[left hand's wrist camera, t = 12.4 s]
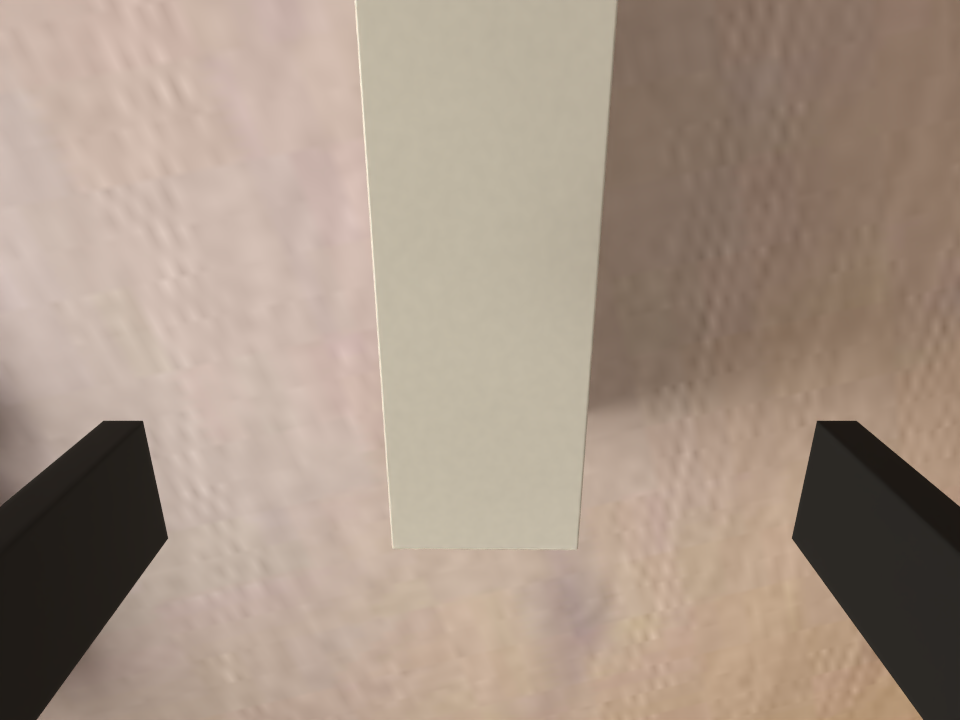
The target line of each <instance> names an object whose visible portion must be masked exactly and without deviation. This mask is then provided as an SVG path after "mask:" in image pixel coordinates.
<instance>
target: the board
mask: <svg viewBox="0 0 960 720" xmlns="http://www.w3.org/2000/svg"><path fill="white" fill-rule="evenodd" d="M617 10H618V0H355V14H356V28H357V43H358V58H359V72H360V87H361V101H362V116H363V130H364V145H365V160H366V174H367V189H368V203H369V218H370V232H371V247H372V261H373V276H374V291H375V305H376V320H377V334H378V349H379V363H380V378H381V393H382V407H383V422H384V436H385V451H386V465H387V480H388V495H389V509H390V524H391V538H392V548H393V549H477V550H577V549H578V540H579V526H580V513H581V499H582V486H583V472H584V458H585V445H586V431H587V418H588V404H589V391H590V377H591V363H592V350H593V336H594V323H595V309H596V295H597V282H598V268H599V255H600V241H601V228H602V214H603V200H604V187H605V173H606V160H607V146H608V132H609V119H610V105H611V92H612V78H613V65H614V51H615V37H616V24H617Z"/></svg>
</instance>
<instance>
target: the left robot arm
mask: <svg viewBox="0 0 960 720" xmlns="http://www.w3.org/2000/svg"><path fill="white" fill-rule="evenodd" d="M167 539H168V536H167V531H166V526H165V522H164V517H163V512H162V508H161V503H160V498H159V494H158V489H157V484H156V480H155V475H154V470H153V466H152V461H151V456H150V452H149V447H148V442H147V438H146V433H145V428H144V424H143V421H103V422H102V423H100V424H99V425H98V426H97V427H96V428H94V429H93V430H92V431H91V432H90V433H88V434H87V435H86V436H85V437H84V438H82V439H81V440H80V441H79V442H78V443H76V444H75V445H74V446H73V447H72V448H70V449H69V450H68V451H67V452H66V453H64V454H63V455H62V456H61V457H59V458H58V459H57V460H56V461H55V462H53V463H52V464H51V465H50V466H49V467H47V468H46V469H45V470H44V471H43V472H41V473H40V474H39V475H38V476H37V477H35V478H34V479H33V480H32V481H31V482H29V483H28V484H27V485H26V486H25V487H23V488H22V489H21V490H20V491H19V492H17V493H16V494H15V495H14V496H13V497H11V498H10V499H9V500H8V501H7V502H5V503H4V504H3V505H2V506H1V507H0V720H37V718H38V717H39V716H40V714H41V713H42V712H43V710H44V709H45V707H46V706H47V705H48V703H49V702H50V700H51V699H52V698H53V696H54V695H55V694H56V692H57V691H58V689H59V688H60V687H61V685H62V684H63V683H64V681H65V680H66V678H67V677H68V676H69V674H70V673H71V672H72V670H73V669H74V667H75V666H76V665H77V663H78V662H79V660H80V659H81V658H82V656H83V655H84V654H85V652H86V651H87V649H88V648H89V647H90V645H91V644H92V643H93V641H94V640H95V638H96V637H97V636H98V634H99V633H100V632H101V630H102V629H103V627H104V626H105V625H106V623H107V622H108V620H109V619H110V618H111V616H112V615H113V614H114V612H115V611H116V609H117V608H118V607H119V605H120V604H121V603H122V601H123V600H124V598H125V597H126V596H127V594H128V593H129V592H130V590H131V589H132V587H133V586H134V585H135V583H136V582H137V580H138V579H139V578H140V576H141V575H142V574H143V572H144V571H145V569H146V568H147V567H148V565H149V564H150V563H151V561H152V560H153V558H154V557H155V556H156V554H157V553H158V552H159V550H160V549H161V547H162V546H163V545H164V543H165V542H166V540H167ZM792 539H793V540H794V542H795V543H796V545H797V546H798V547H799V549H800V550H801V552H802V553H803V554H804V556H805V557H806V558H807V560H808V561H809V563H810V564H811V565H812V567H813V568H814V569H815V571H816V572H817V574H818V575H819V576H820V578H821V579H822V580H823V582H824V583H825V585H826V586H827V587H828V589H829V590H830V592H831V593H832V594H833V596H834V597H835V598H836V600H837V601H838V603H839V604H840V605H841V607H842V608H843V609H844V611H845V612H846V614H847V615H848V616H849V618H850V619H851V620H852V622H853V623H854V625H855V626H856V627H857V629H858V630H859V632H860V633H861V634H862V636H863V637H864V638H865V640H866V641H867V643H868V644H869V645H870V647H871V648H872V649H873V651H874V652H875V654H876V655H877V656H878V658H879V659H880V660H881V662H882V663H883V665H884V666H885V667H886V669H887V670H888V672H889V673H890V674H891V676H892V677H893V678H894V680H895V681H896V683H897V684H898V685H899V687H900V688H901V689H902V691H903V692H904V694H905V695H906V696H907V698H908V699H909V700H910V702H911V703H912V705H913V706H914V707H915V709H916V710H917V712H918V713H919V714H920V716H921V717H922V718H923V720H960V507H959V506H958V505H957V504H956V503H955V502H953V501H952V500H951V499H950V498H949V497H947V496H946V495H945V494H944V493H943V492H941V491H940V490H939V489H938V488H937V487H935V486H934V485H933V484H932V483H931V482H929V481H928V480H927V479H926V478H925V477H923V476H922V475H921V474H920V473H919V472H917V471H916V470H915V469H914V468H913V467H911V466H910V465H909V464H908V463H907V462H905V461H904V460H903V459H902V458H901V457H899V456H898V455H897V454H896V453H894V452H893V451H892V450H891V449H890V448H888V447H887V446H886V445H885V444H884V443H882V442H881V441H880V440H879V439H878V438H876V437H875V436H874V435H873V434H872V433H870V432H869V431H868V430H867V429H866V428H864V427H863V426H862V425H861V424H860V423H858V422H857V421H817V424H816V428H815V433H814V438H813V442H812V447H811V452H810V456H809V461H808V466H807V470H806V475H805V480H804V484H803V489H802V494H801V498H800V503H799V508H798V512H797V517H796V522H795V526H794V531H793V536H792Z"/></svg>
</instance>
